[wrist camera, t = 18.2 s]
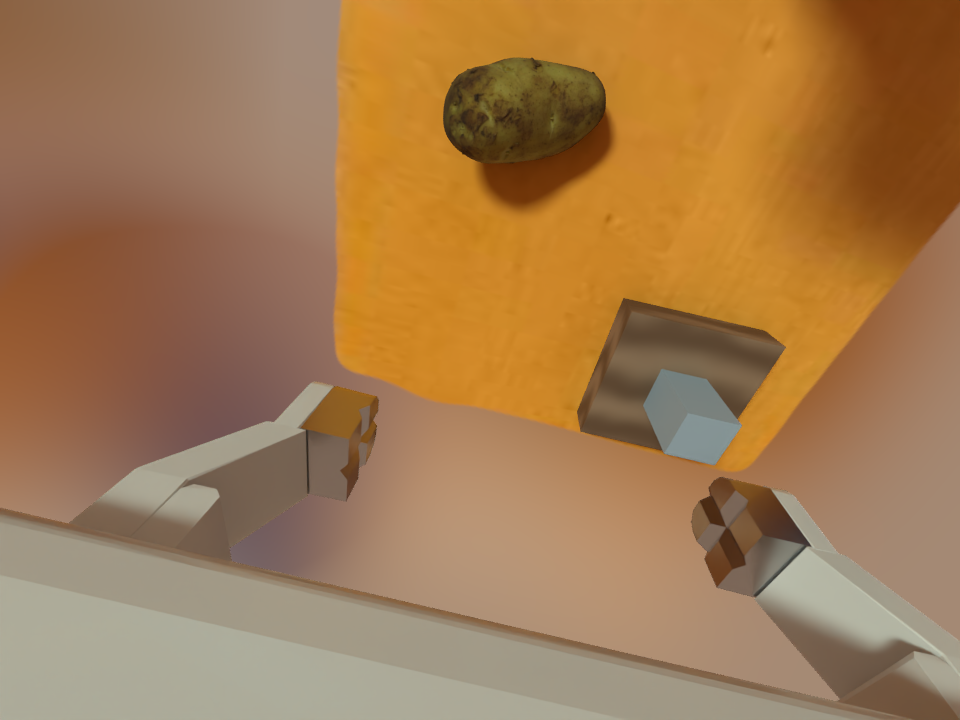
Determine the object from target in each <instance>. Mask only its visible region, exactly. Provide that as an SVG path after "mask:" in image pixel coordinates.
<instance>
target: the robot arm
mask: <svg viewBox="0 0 960 720" xmlns="http://www.w3.org/2000/svg"><path fill="white" fill-rule="evenodd" d="M378 406H379V399H378V397H377V396H373V395H369V394H365V393H361V392H357V391H353V390H350V389H346V388H341V387H338V386H336V387H335V386H333V385H329V384H325V383H321V382H316V381H315V382H313V383H310V384H309V386H307V388H306V389H305V390H304V391H303V392H302V393H301V394H300V395H299V396H298V397H297V398H296V399H295V400H294V401H293V402H292V404H291V405H290V406H289V407H288V408H287V409H286V410H285V411H284V412H283V413H282V414H281V415H280V417H278V419H277V420H276V421H275V422H274V423H273V422H269V421H266V422H263V423H261V424H258V425H255V426H252V427H250V428H247V429H244V430H241V431H238V432H235V433H233V434H230V435H228V436H224V437H222V438H219V439H216V440H213V441H211V442H208V443H205V444H202V445H199V446H196V447H194V448H191V449H188V450H186V451H183V452H180V453H177V454H174V455H171V456H169V457H166V458H163V459H161V460H158V461H155V462H152V463H149V464H146V465H144V466H141V467H138V468H136V469H135V470H133V471H132V472H131V473H130V474H128V475H127V476H126V477H125V478H124V479H122V480H121V481H120V482H119V483H117V484H116V485H115V486H114V487H113V488H111V489H110V490H109V491H108V492H106V493H105V494H104V495H103V496H101V497H100V498H99V499H98V500H97V501H95V502H94V503H93V504H92V505H90V506H89V507H88V508H87V509H85V510H84V511H83V512H82V513H81V514H79V515H78V516H77V517H76V518H74V519H73V520H72V521H71V522H69V523H64V522H59V521H55V520H51V519H47V518H42V517H38V516H34V515H30V514H25V513H21V512H16V511H12V510H8V509H4V508H0V720H960V641H959V640H957V639H956V638H955V637H953V636H952V635H951V634H949V633H948V632H947V631H945V630H944V629H943V628H941V627H940V626H939V625H937V624H936V623H935V622H933V621H932V620H931V619H929V618H928V617H927V616H925V615H924V614H923V613H921V612H920V611H919V610H917V609H916V608H915V607H913V606H912V605H911V604H909V603H908V602H907V601H905V600H904V599H903V598H901V597H900V596H899V595H897V594H896V593H895V592H893V591H892V590H891V589H889V588H888V587H887V586H885V585H884V584H883V583H881V582H880V581H879V580H877V579H876V578H875V577H874V576H872V575H871V574H870V573H868V572H867V571H865V570H864V569H863V568H862V567H860V566H859V565H858V564H856V563H855V562H853V561H852V560H851V559H850V558H848V557H847V556H845V555H841V554H838V553H837V551H836V550H835V549H834V547H833V546H832V545H831V543H830V542H829V541H828V539H827V538H826V537H825V536H824V534H823V533H822V532H821V530H820V529H819V528H818V526H817V525H816V524H815V523H814V521H813V520H812V519H811V517H810V516H809V515H808V513H807V512H806V511H805V509H804V508H803V507H802V505H801V504H800V503H799V502H798V500H797V499H796V498H795V496H794V495H792V494H791V493H789V492H788V491H786V490H781V489H776V488H771V487H767V486H759V485H755V484H750V483H746V482H741V481H737V480H733V479H728V478H724V477H719V478H717V479H716V480H714V481H713V483H712V484H711V486H710V487H709V492H710V496H709V497H707V498H704V499H702V500H700V501H699V502H698V504H697V505H696V507H695V509H694V510H693V516H692V521H691V522H692V528H693V533H694V535H695V538H696V540H697V542H698V543H699V544H700V545H701V546H702V547H703V548H704V549H705V550H706V551H707V553H706V556H705V562H706V564H707V566H708V569H709V571H710V573H711V575H712V578H713V580H714V582H715V585H716V587H717V588H721V589H724V590H728V591H732V592H736V593H739V594H743V595H747V596H751V597H755V601H756V602H757V603H758V604H759V605H760V606H761V608H762V609H763V610H764V611H765V612H766V613H767V615H768V616H769V617H770V618H771V619H772V620H773V622H774V623H775V624H776V625H777V626H778V627H779V629H780V630H781V631H782V632H783V633H784V634H785V636H786V637H787V638H788V639H789V640H790V641H791V643H792V644H793V645H794V646H795V647H796V648H797V650H798V651H799V652H800V653H801V654H802V655H803V656H804V658H805V659H806V660H807V661H808V662H809V664H810V665H811V666H812V667H813V668H814V669H815V671H817V673H818V674H819V675H820V676H821V678H822V679H823V680H824V681H825V682H826V683H827V685H828V686H829V687H830V688H831V689H832V690H833V692H835V694H836V695H837V696H838V697H839V698H840V700H838V701H832V700H828V699H823V698H819V697H815V696H811V695H806V694H802V693H797V692H793V691H789V690H785V689H780V688H776V687H771V686H767V685H762V684H758V683H754V682H750V681H745V680H741V679H737V678H732V677H728V676H724V675H719V674H715V673H711V672H706V671H702V670H698V669H693V668H689V667H684V666H680V665H676V664H672V663H667V662H663V661H659V660H654V659H650V658H646V657H641V656H637V655H632V654H628V653H624V652H619V651H615V650H611V649H607V648H602V647H598V646H594V645H590V644H585V643H581V642H577V641H572V640H568V639H564V638H559V637H555V636H551V635H547V634H542V633H538V632H534V631H529V630H525V629H521V628H516V627H512V626H508V625H504V624H499V623H495V622H491V621H487V620H482V619H478V618H474V617H469V616H465V615H461V614H456V613H452V612H448V611H443V610H439V609H435V608H430V607H426V606H422V605H417V604H413V603H409V602H405V601H400V600H396V599H392V598H387V597H383V596H379V595H374V594H370V593H366V592H361V591H357V590H353V589H348V588H344V587H340V586H336V585H331V584H327V583H323V582H318V581H313V580H310V579H305V578H301V577H297V576H293V575H288V574H284V573H279V572H275V571H271V570H267V569H262V568H258V567H254V566H249V565H245V564H241V563H236V562H232V559H231V554H230V549H229V548H231V547H232V546H234V545H235V544H237V543H238V542H240V541H241V540H243V539H244V538H246V537H247V536H249V535H250V534H251V533H253V532H254V531H256V530H257V529H259V528H260V527H262V526H263V525H265V524H266V523H268V522H269V521H271V520H272V519H274V518H275V517H277V516H278V515H280V514H281V513H283V512H284V511H286V510H287V509H289V508H290V507H292V506H293V505H295V504H296V503H298V502H299V501H301V500H302V499H304V498H305V497H307V496H308V494H312V495H317V496H322V497H327V498H332V499H336V500H341V501H347V499H348V497H349V495H350V493H351V491H352V490H353V488H354V485H355V484H356V482H357V480H358V475H359V468H360V467H361V466H363V465H365V464H366V462H367V460H368V458H369V456H370V454H371V451H372V448H373V445H374V441H375V437H376V430H377V429H376V428H377V425H376V424H375V422H374V421H373V420H374V418H375V416H376V414H377V412H378Z"/></svg>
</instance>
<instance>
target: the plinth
mask: <svg viewBox="0 0 960 720" xmlns="http://www.w3.org/2000/svg"><path fill="white" fill-rule="evenodd" d="M785 348H786V347H785V346H784V345H782V344H781V343H780V342H779V341H777V340H776V339H775V338H773V337H772V336H771V335H770V334H768V333H767V332H766V331H763V330H759V329H755V328H750V327H746V326H742V325H737V324H733V323H729V322H724V321H720V320H716V319H711V318H707V317H703V316H698V315H694V314H690V313H685V312H681V311H677V310H672V309H668V308H664V307H659V306H655V305H651V304H647V303H642V302H638V301H634V300H629V299H625V298H623V301H622V303H621V306H620V308H619V311H618V313H617V316H616V318H615V320H614V323H613V325H612V328H611V330H610V333H609V335H608V338H607V340H606V342H605V345H604V347H603V350H602V352H601V355H600V357H599V360H598V362H597V365H596V367H595V369H594V372H593V374H592V377H591V379H590V382H589V384H588V387H587V389H586V391H585V394H584V396H583V399H582V401H581V404H580V406H579V409H578V411H577V414H578V419H579V425H580V430H581V432H585V433H589V434H594V435H598V436H602V437H607V438H611V439H615V440H620V441H624V442H628V443H633V444H637V445H641V446H646V447H650V448H654V449H659V450H662V448H661V445H660V443H659V441H658V438H657V436H656V434H655V432H654V429H653V427H652V425H651V422H650V420H649V418H648V416H647V413H646V411H645V409H644V407H643V405H644V403H645V401H646V399H647V397H648V395H649V393H650V391H651V389H652V387H653V385H654V383H655V381H656V379H657V377H658V375H659V373H660V371H661V369H664V370H669V371H673V372H677V373H682V374H686V375H690V376H695V377H699V378H703V379H707V380H708V382H709V383H710V384H711V386H712V387H713V388H714V390H715V391H716V392H717V393H718V395H719V396H720V397H721V399H722V400H723V401H724V403H725V404H726V405H727V407H728V408H729V409H730V411H731V412H732V413H733V415H734V416H735V417H736V418H737V419H738V417H739V416H740V415H741V413H742V412H743V410H744V409H745V407H746V406H747V404H748V403H749V401H750V400H751V398H752V397H753V395H754V394H755V392H756V391H757V389H758V388H759V386H760V385H761V383H762V382H763V380H764V379H765V378H766V376H767V375H768V373H769V372H770V370H771V369H772V367H773V366H774V364H775V363H776V361H777V360H778V358H779V357H780V355H781V354H782V352H783V351H784V349H785Z"/></svg>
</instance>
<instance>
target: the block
mask: <svg viewBox="0 0 960 720" xmlns="http://www.w3.org/2000/svg"><path fill="white" fill-rule="evenodd" d="M643 407H644V409H645V411H646V413H647V416H648V418H649V420H650V422H651V425H652V427H653V429H654V432H655V434H656V436H657V438H658V441H659V443H660V445H661V448H662V450H663V452H664V454H668V455H672V456H676V457H681V458H685V459H689V460H694V461H698V462H702V463H707V464H711V465H715V464H716V463H717V461H718V460H719V458H720V457H721V455H722V454H723V453H724V451H725V450H726V448H727V447H728V445H729V444H730V442H731V441H732V439H733V438H734V437H735V435H736V434H737V432H738V431H739V429H740V428H741V426H742V425H741V424H740V422H739V421H738V420H737V418H736V417H735V416H734V415H733V413H732V412H731V411H730V409H729V408H728V407H727V405H726V404H725V403H724V401H723V400H722V399H721V397H720V396H719V395H718V393H717V392H716V391H715V390H714V388H713V387H712V386H711V384H710V383H709V382H708V380H707V379H703V378H699V377H695V376H690V375H686V374H682V373H677V372H673V371H669V370H664V369H661V371H660V373H659V375H658V377H657V379H656V381H655V383H654V385H653V387H652V389H651V391H650V393H649V395H648V397H647V399H646V401H645V403H644V405H643Z"/></svg>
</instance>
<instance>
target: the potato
mask: <svg viewBox="0 0 960 720" xmlns="http://www.w3.org/2000/svg"><path fill="white" fill-rule="evenodd" d="M605 107H606V95H605V89H604V87H603V84H602V83H601V81H600V80H599V78H598V77H597V76H596V75H595V73H594V72H592V73H591V72H589V71H587V70H584V69H581V68H577V67H572V66H567V65H562V64H558V63H552V62H546V61H541V60H534V59H533V58H530V59H527V58H509V59H503V60H501V61H498V62H495V63H492V64H490V65H485V66H479V67H475V68H472V69H467V71H465V72H463V73H461V74H459V75H458V76H457V77H456V78H455V80H454V81H453V82H452V85H451V87H450V89H449V91H448V93H447V96H446V99H445V104H444V113H443V123H444V128H445V132H446V134H447V137H448V138H449V140H450V142H451V143H452V144H453V145H454V146H455V147H456V148H457V149H458V150H459V151H460V152H462V154H464V155H466V156H467V157H469V158H471V159H473V160H475V161H479V162H482V163H515V162H521V161H527V160H537V159H541V158H545V157H548V156H552V155H555V154H557V153H560V152H562V151H565V150H567V149H568V148H570V147H572V146H573V145H575V144H576V143H577V142H578V141H580V140H581V139H582V138H583V137H584V136H586V135H587V134H588V133H589V132H590V131H591V130H592V129H593V128H594V127H595V126H596V125H597V124H598V123H599V122H600V120H601V118H602V117H603V114H604V111H605Z"/></svg>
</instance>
